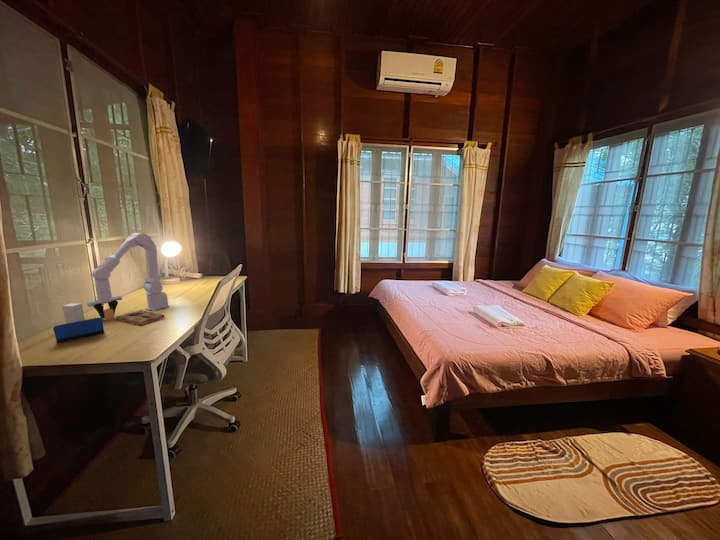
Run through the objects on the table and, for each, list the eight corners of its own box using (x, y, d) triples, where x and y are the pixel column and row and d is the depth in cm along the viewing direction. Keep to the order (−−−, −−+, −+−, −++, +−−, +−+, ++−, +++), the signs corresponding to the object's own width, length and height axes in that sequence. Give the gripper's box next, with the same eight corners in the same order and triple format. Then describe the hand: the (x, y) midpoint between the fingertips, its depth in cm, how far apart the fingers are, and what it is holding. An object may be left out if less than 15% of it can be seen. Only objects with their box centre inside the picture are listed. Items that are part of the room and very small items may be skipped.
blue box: (102, 328, 146) (99, 310, 144) (105, 336, 137) (102, 317, 135) (57, 337, 135) (53, 318, 134) (56, 347, 126) (52, 326, 124)
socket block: (141, 313, 168) (141, 309, 168) (164, 318, 160) (164, 314, 159) (116, 320, 157) (116, 316, 157) (140, 325, 149) (139, 322, 148)
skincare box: (86, 327, 147) (82, 303, 145) (77, 330, 143) (73, 306, 141) (75, 326, 148) (70, 303, 146) (66, 330, 144) (61, 305, 142)
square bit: (110, 317, 161) (108, 308, 161) (114, 318, 160) (113, 309, 159) (101, 319, 158) (99, 310, 157) (105, 320, 156) (104, 311, 155)
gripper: (115, 287, 164) (119, 311, 167) (82, 293, 151) (86, 319, 154) (122, 288, 161) (126, 313, 164) (89, 295, 148) (94, 321, 151)
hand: (107, 316), depth 159 cm, fingers closed on square bit, 4 cm apart
